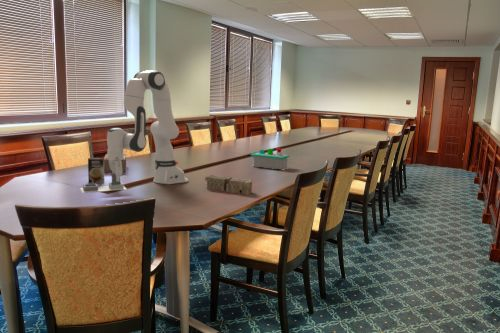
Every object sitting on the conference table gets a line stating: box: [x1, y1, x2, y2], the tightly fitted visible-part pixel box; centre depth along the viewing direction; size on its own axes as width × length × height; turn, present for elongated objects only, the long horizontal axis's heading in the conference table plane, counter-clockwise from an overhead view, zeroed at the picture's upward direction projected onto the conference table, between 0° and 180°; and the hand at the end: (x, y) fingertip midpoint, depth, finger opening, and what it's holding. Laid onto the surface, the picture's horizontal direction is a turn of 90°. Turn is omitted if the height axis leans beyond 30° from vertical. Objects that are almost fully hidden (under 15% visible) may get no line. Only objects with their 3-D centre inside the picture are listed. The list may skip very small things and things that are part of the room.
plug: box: [111, 173, 121, 185], centre depth 240 cm, size 4×4×9 cm
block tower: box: [204, 173, 253, 196], centre depth 250 cm, size 8×8×29 cm
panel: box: [80, 181, 127, 194], centre depth 237 cm, size 24×12×4 cm, turn 118°
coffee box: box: [87, 157, 105, 184], centre depth 253 cm, size 9×6×16 cm
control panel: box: [250, 147, 291, 170], centre depth 332 cm, size 15×16×30 cm
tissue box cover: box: [103, 153, 127, 174], centre depth 300 cm, size 26×14×10 cm, turn 15°
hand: (116, 179), depth 240 cm, fingers open, 8 cm apart
